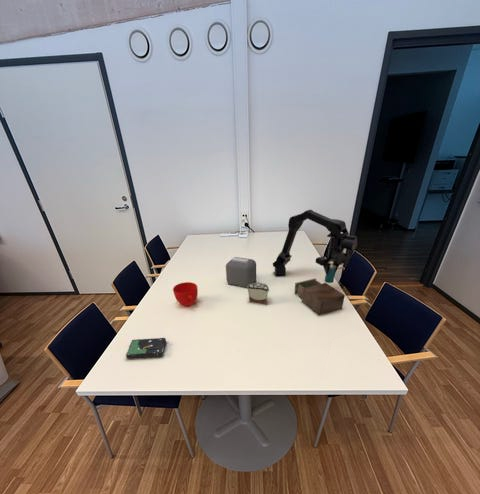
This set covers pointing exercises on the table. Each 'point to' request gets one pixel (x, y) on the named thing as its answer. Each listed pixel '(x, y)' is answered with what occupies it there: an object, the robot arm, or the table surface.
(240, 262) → the alarm clock
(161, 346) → the disk drive
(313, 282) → the drawer
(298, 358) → the table surface
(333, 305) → the cabinet
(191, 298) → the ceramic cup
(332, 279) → the tea tin
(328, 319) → the table surface
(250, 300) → the food container
